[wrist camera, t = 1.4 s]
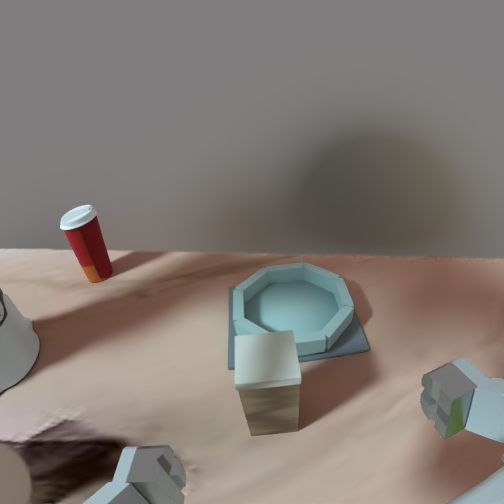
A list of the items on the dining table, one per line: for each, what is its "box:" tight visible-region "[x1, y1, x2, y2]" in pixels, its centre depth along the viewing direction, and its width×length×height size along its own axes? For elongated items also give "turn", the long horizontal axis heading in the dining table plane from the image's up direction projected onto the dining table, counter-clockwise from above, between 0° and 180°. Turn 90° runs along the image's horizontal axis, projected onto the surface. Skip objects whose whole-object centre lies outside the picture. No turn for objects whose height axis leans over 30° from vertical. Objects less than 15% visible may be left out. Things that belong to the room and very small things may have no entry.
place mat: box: [228, 274, 369, 369], centre depth 43 cm, size 18×16×1 cm
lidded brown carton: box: [235, 330, 301, 436], centre depth 28 cm, size 5×5×11 cm
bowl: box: [233, 262, 354, 358], centre depth 42 cm, size 16×16×3 cm
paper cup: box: [60, 205, 113, 283], centre depth 54 cm, size 8×8×14 cm
